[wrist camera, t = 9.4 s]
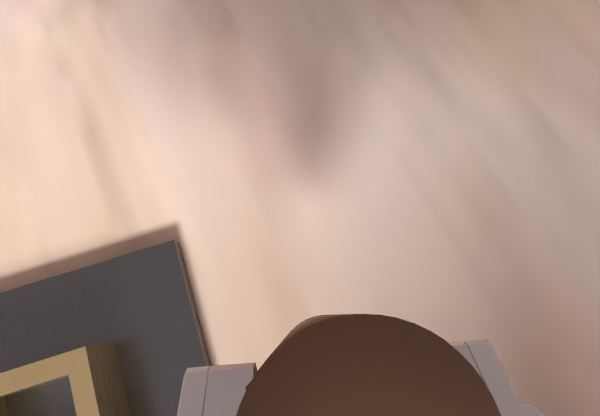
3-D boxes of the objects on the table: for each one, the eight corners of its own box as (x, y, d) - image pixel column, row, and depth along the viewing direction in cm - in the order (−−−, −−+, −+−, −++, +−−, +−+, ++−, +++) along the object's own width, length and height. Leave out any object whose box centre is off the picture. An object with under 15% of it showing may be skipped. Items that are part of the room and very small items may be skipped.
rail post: (393, 404, 17) (555, 567, 6) (293, 435, 16) (272, 663, 6) (361, 302, 17) (453, 282, 7) (265, 331, 17) (199, 358, 6)
